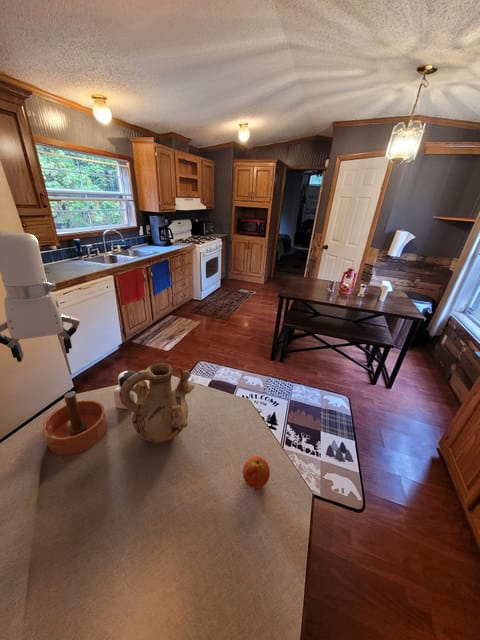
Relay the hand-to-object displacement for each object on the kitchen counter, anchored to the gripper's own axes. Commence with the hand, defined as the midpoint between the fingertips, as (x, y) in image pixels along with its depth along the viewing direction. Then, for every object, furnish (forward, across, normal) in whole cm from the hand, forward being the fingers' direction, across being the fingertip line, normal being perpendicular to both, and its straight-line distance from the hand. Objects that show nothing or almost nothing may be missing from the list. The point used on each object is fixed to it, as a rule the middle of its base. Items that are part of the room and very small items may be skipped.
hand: (45, 355), depth 64 cm
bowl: (+28, -3, 0) cm, 28 cm away
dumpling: (+26, -1, -3) cm, 27 cm away
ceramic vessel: (+28, -26, +12) cm, 40 cm away
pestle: (+28, -3, 0) cm, 28 cm away
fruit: (+28, -42, +38) cm, 63 cm away
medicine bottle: (+28, -19, -7) cm, 35 cm away
